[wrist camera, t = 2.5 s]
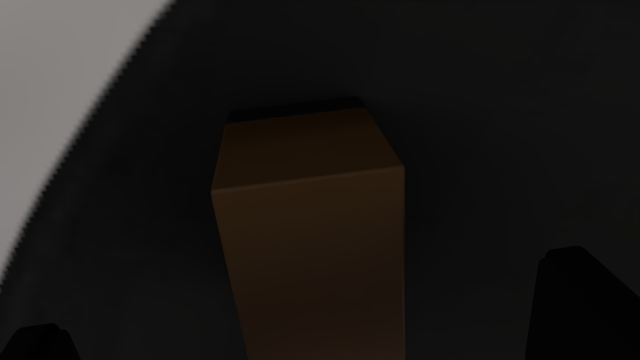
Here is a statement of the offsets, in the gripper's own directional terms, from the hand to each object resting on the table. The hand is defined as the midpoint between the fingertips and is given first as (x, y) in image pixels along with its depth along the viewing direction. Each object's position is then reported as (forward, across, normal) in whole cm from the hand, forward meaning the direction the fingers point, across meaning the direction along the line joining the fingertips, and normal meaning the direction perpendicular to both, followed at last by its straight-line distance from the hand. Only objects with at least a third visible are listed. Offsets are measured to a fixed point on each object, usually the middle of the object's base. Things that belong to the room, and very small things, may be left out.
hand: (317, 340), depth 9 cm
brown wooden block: (+5, 0, 0) cm, 5 cm away
